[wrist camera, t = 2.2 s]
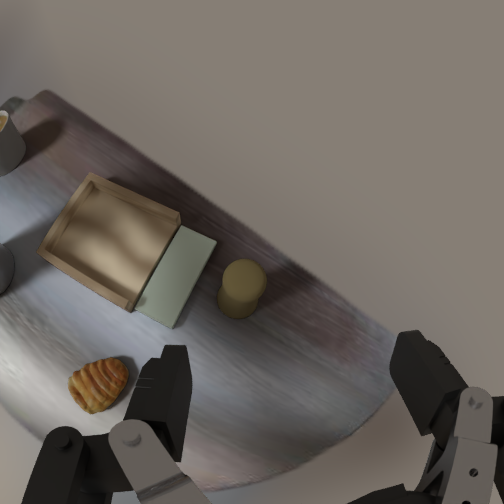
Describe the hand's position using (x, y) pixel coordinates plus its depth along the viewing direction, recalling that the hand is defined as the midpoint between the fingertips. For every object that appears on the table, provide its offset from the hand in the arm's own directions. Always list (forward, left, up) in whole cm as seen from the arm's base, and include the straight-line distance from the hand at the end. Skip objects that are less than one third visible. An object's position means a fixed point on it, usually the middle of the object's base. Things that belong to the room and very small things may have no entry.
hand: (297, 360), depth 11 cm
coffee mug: (+13, +62, -33) cm, 72 cm away
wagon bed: (+8, +25, -33) cm, 43 cm away
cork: (+9, +3, -33) cm, 35 cm away
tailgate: (+8, +16, -32) cm, 37 cm away
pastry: (-11, +16, -34) cm, 39 cm away
